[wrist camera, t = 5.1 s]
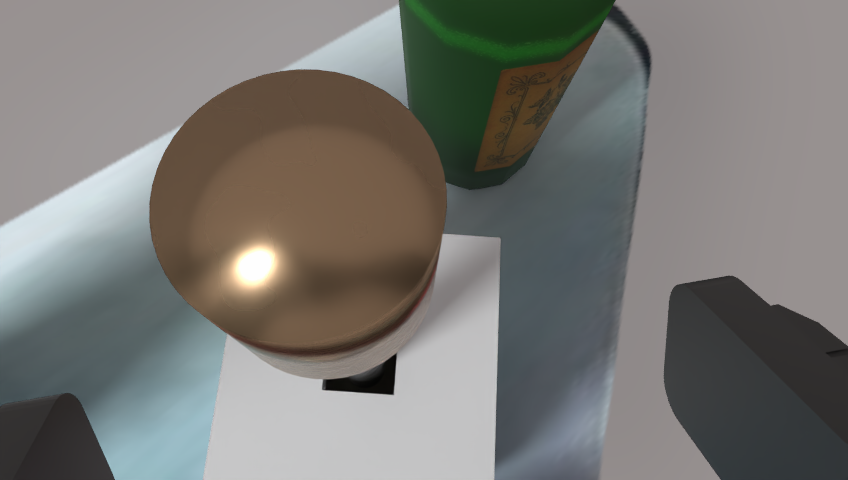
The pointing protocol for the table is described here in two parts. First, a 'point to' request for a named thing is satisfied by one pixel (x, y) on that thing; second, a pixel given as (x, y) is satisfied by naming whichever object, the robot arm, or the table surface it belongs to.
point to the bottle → (492, 76)
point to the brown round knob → (304, 221)
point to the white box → (377, 396)
